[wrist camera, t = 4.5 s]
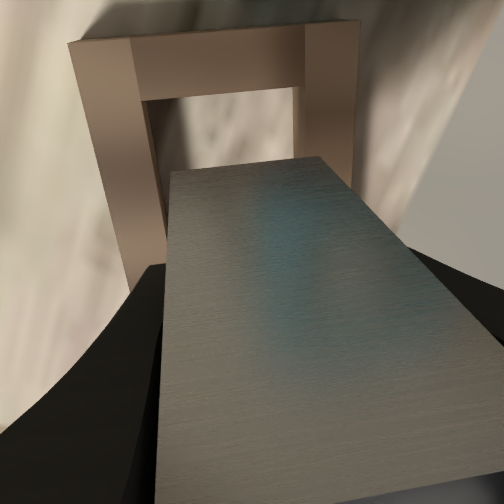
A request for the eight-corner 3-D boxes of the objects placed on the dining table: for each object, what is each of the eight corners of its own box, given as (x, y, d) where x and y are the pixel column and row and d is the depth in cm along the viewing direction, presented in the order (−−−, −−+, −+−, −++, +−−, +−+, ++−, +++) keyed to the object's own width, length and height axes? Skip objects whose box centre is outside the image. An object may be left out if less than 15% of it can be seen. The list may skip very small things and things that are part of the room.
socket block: (333, 242, 22) (346, 262, 20) (134, 268, 21) (130, 292, 19) (341, 19, 17) (360, 20, 15) (79, 39, 16) (67, 43, 14)
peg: (316, 278, 14) (501, 636, 6) (191, 296, 13) (208, 703, 5) (319, 155, 12) (605, 452, 4) (170, 171, 11) (152, 538, 3)
